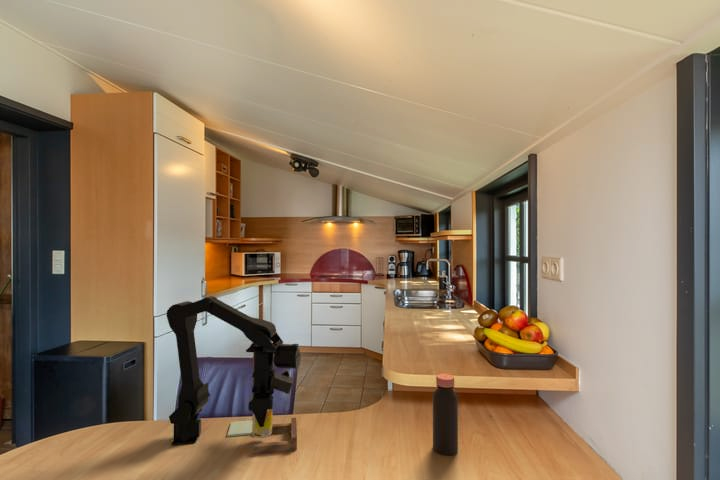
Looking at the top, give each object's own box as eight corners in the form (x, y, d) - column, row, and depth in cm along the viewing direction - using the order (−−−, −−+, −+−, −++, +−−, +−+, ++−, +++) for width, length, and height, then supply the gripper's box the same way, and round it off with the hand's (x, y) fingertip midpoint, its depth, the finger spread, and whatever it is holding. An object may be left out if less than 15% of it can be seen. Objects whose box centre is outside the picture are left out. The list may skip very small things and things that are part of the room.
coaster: (227, 436, 109) (227, 434, 109) (231, 423, 117) (231, 422, 117) (255, 434, 110) (255, 432, 110) (257, 421, 118) (257, 419, 118)
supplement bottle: (275, 435, 106) (276, 399, 106) (257, 441, 102) (257, 404, 102) (267, 427, 110) (267, 392, 110) (249, 433, 106) (249, 397, 106)
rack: (253, 454, 100) (253, 441, 100) (257, 432, 111) (257, 420, 111) (296, 450, 102) (296, 437, 102) (296, 428, 113) (296, 417, 114)
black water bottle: (428, 445, 104) (428, 374, 105) (447, 440, 107) (447, 371, 107) (442, 458, 98) (442, 382, 98) (463, 452, 101) (462, 378, 101)
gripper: (292, 377, 99) (291, 435, 98) (291, 356, 117) (290, 406, 117) (248, 379, 96) (247, 439, 96) (255, 357, 115) (254, 408, 115)
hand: (262, 421), depth 106 cm, fingers closed on supplement bottle, 5 cm apart
